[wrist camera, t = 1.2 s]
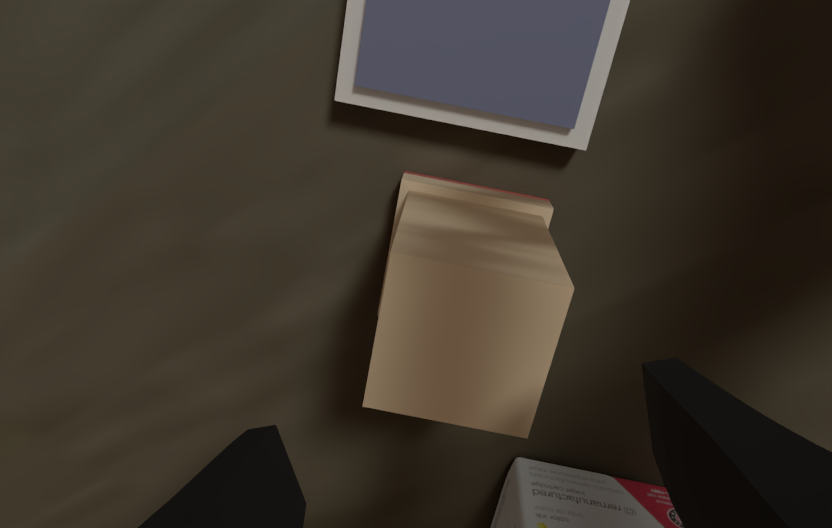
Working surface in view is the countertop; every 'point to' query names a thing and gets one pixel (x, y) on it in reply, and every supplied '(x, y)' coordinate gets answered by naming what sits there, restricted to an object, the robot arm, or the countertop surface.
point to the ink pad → (483, 62)
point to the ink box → (579, 500)
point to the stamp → (467, 306)
